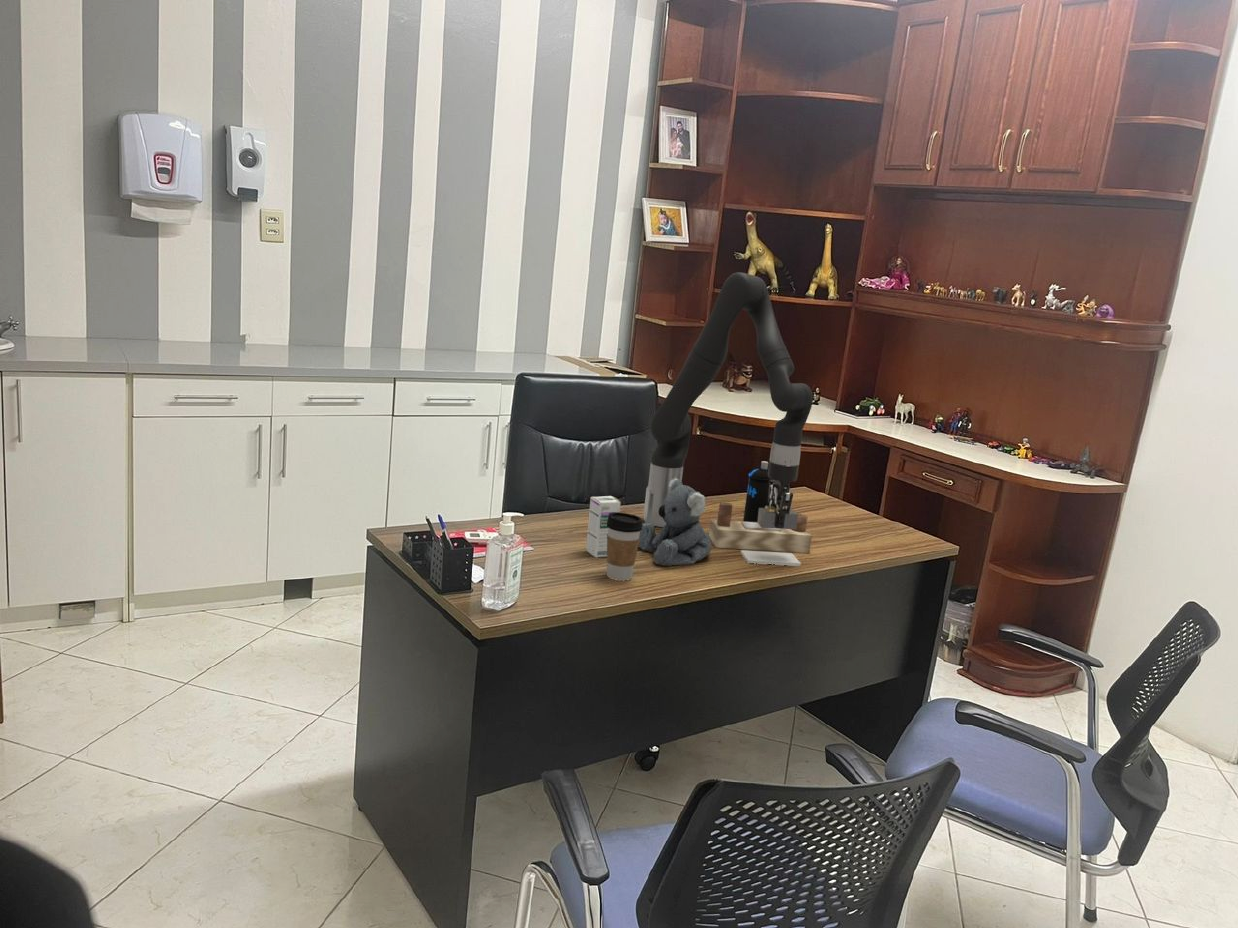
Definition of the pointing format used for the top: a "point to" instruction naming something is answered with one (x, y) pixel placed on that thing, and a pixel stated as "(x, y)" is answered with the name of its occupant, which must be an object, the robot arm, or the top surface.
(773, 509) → the lever cap
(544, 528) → the top surface
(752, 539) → the hand plane
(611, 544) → the coffee cup
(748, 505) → the aerosol can
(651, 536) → the koala plush
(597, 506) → the syrup box
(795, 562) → the rubber mat
